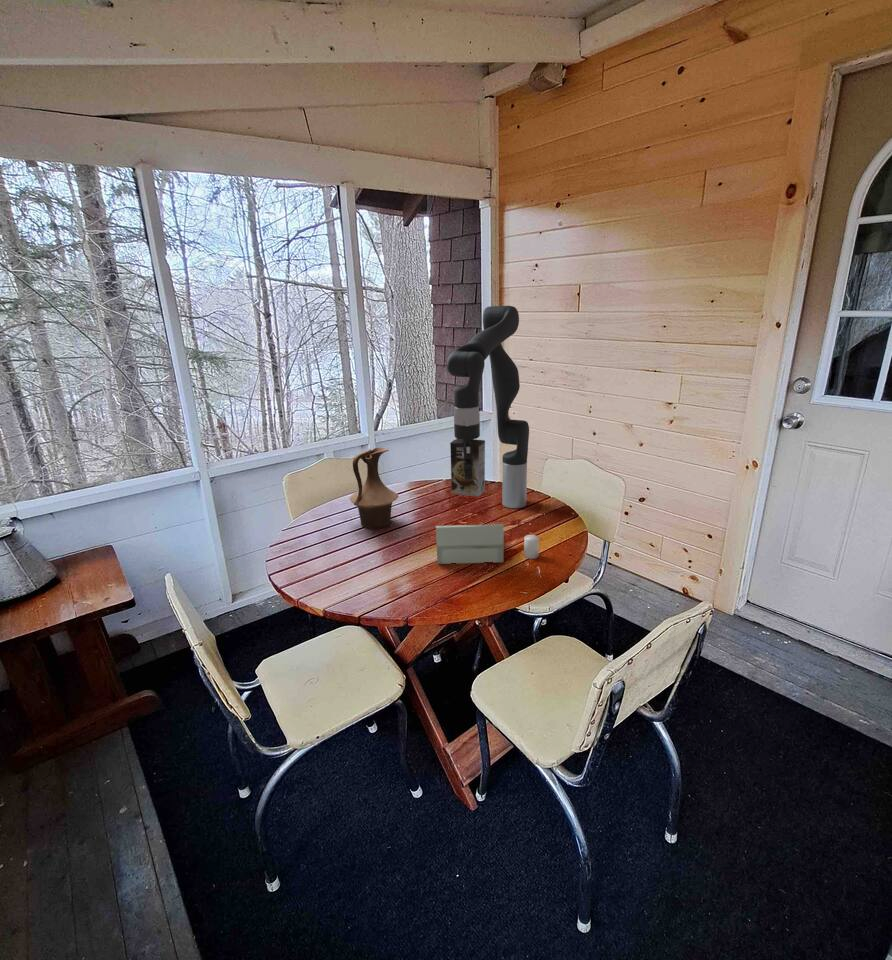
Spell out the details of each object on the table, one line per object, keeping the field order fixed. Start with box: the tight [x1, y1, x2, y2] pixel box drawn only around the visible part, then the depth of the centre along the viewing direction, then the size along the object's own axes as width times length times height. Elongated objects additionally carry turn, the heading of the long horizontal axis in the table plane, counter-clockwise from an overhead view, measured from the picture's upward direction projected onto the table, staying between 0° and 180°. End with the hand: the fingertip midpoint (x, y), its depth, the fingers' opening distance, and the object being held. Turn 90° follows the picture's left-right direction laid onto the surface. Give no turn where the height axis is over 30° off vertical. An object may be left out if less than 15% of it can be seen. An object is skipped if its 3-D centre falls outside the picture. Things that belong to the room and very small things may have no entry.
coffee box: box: [449, 438, 486, 497], centre depth 155 cm, size 9×6×16 cm
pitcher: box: [349, 447, 399, 530], centre depth 182 cm, size 18×17×28 cm
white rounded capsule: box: [523, 534, 540, 560], centre depth 158 cm, size 4×4×6 cm
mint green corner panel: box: [435, 523, 505, 565], centre depth 160 cm, size 14×20×12 cm
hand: (467, 474), depth 156 cm, fingers closed on coffee box, 8 cm apart
